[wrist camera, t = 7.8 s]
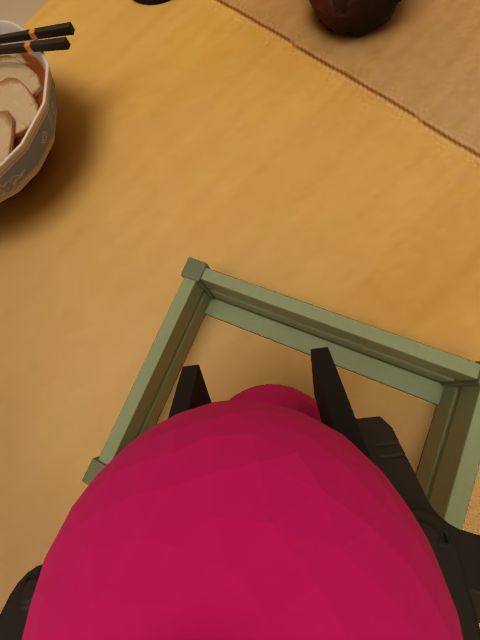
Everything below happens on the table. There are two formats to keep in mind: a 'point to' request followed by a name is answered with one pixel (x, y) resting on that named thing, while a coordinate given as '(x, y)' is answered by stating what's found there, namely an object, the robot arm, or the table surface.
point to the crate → (449, 370)
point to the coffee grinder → (353, 14)
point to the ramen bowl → (26, 101)
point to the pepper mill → (242, 538)
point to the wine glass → (151, 1)
